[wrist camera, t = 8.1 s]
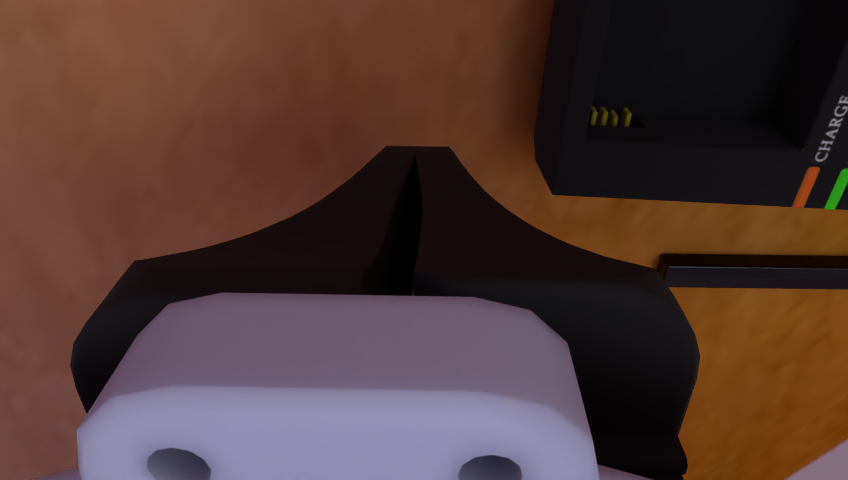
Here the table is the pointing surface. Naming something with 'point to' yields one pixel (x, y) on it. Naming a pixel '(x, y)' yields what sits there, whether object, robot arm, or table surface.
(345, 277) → the robot arm
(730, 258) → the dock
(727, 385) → the table surface
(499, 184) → the table surface
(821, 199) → the battery charger
